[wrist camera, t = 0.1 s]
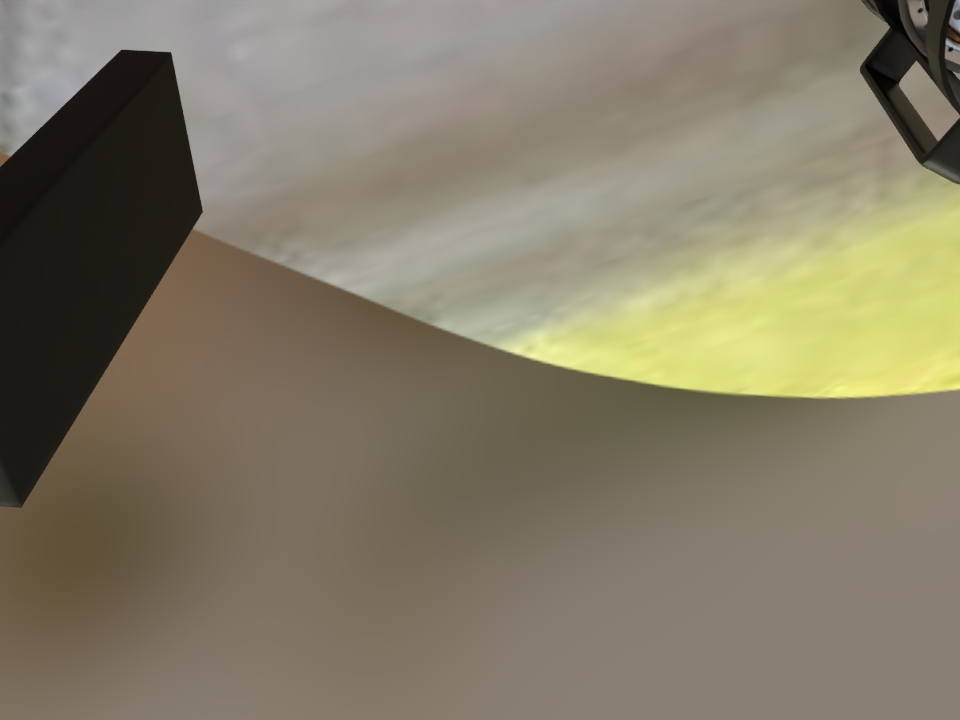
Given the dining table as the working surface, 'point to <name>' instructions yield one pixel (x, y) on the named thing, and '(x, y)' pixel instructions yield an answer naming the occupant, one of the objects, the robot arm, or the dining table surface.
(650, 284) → the dining table surface
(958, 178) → the french press
